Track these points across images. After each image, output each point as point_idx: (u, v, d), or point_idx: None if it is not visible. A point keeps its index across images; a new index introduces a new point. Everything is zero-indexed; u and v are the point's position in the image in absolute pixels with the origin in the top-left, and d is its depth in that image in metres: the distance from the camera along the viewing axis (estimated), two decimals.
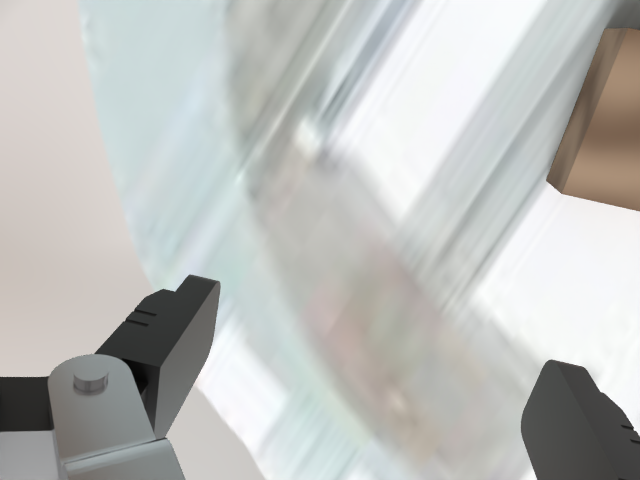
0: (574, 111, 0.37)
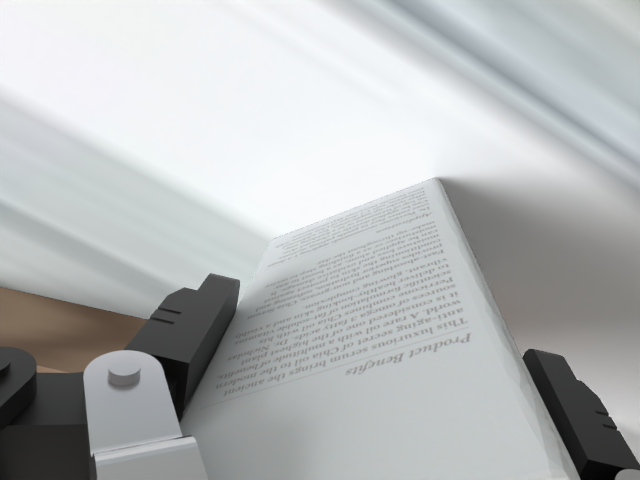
0: (78, 309, 0.19)
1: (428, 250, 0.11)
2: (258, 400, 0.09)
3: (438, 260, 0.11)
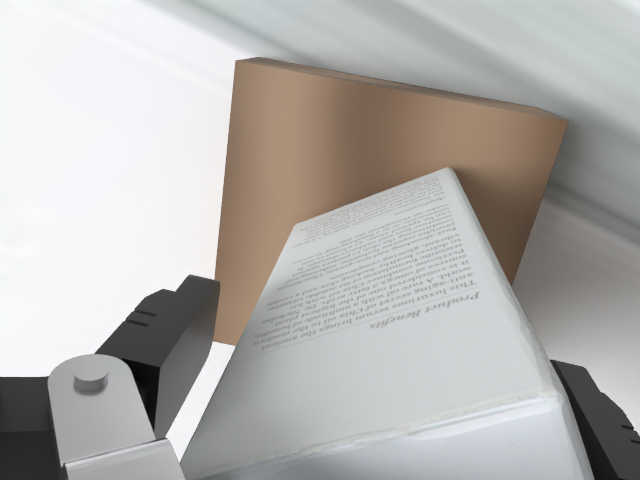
0: (392, 81, 0.20)
1: (442, 228, 0.12)
2: (292, 351, 0.10)
3: (450, 236, 0.12)
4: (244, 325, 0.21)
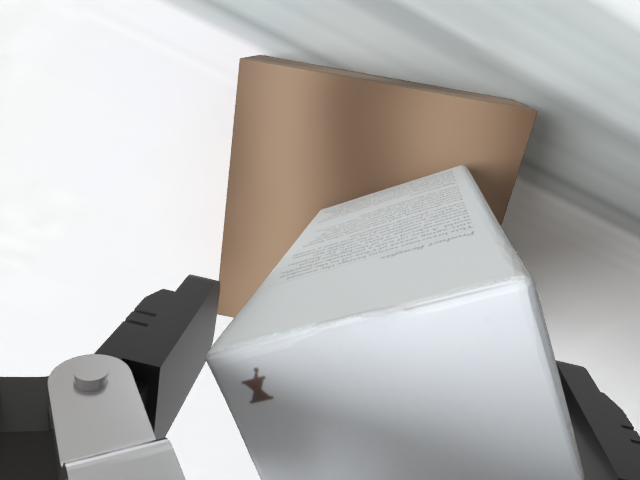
0: None
1: (450, 200, 0.14)
2: (313, 277, 0.12)
3: (456, 203, 0.14)
4: (248, 299, 0.23)
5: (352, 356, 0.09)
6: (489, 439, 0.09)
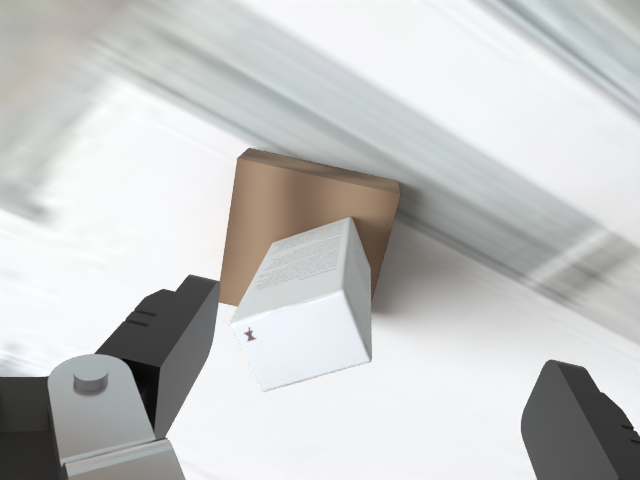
0: (321, 164, 0.37)
1: (334, 246, 0.30)
2: (269, 288, 0.27)
3: (336, 249, 0.29)
4: (237, 293, 0.38)
5: (285, 320, 0.24)
6: (336, 347, 0.24)
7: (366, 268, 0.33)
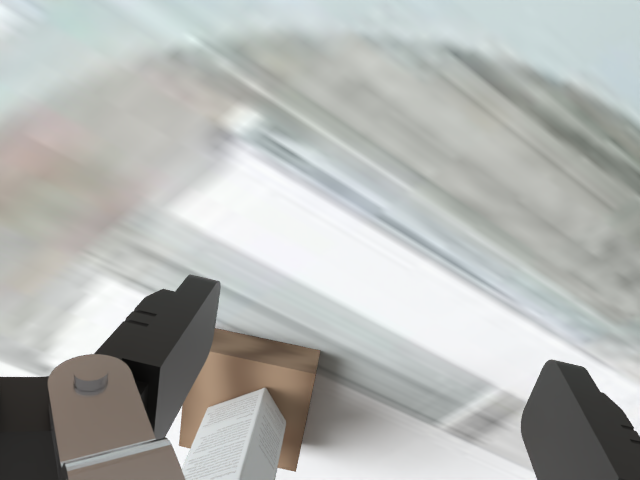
0: (258, 338, 0.46)
1: (243, 434, 0.39)
2: None
3: (243, 440, 0.38)
4: None
5: None
6: None
7: (277, 432, 0.42)
